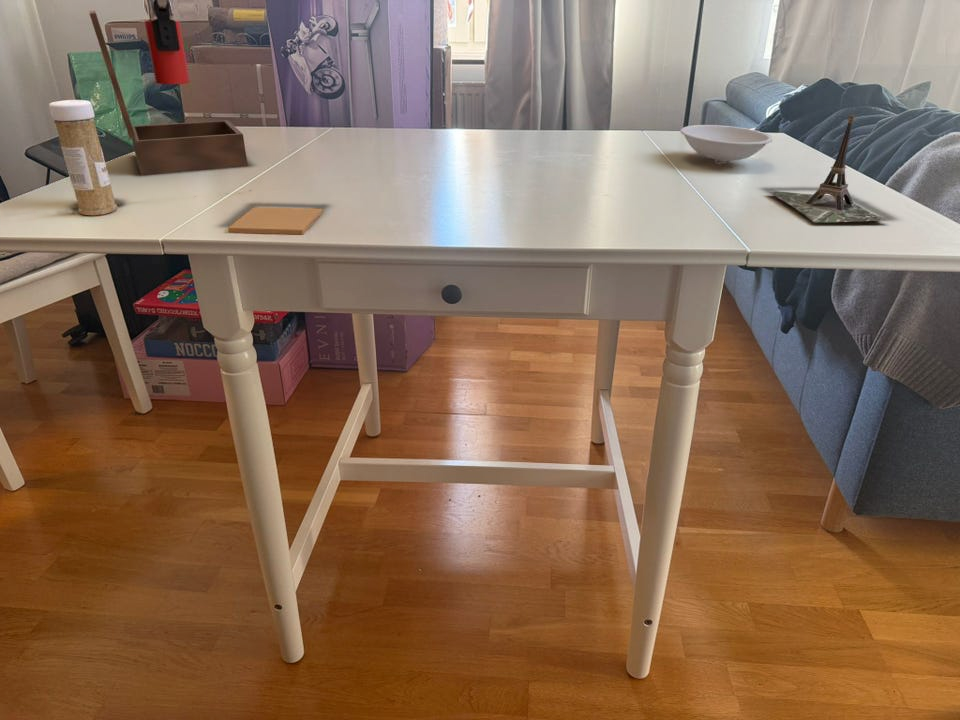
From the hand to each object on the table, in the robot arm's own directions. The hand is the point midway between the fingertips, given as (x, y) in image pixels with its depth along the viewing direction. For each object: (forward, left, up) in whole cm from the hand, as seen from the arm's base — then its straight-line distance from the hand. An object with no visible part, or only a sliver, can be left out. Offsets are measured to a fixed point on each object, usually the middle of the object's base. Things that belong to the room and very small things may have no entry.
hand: (166, 48), depth 102 cm
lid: (-8, 0, -3) cm, 8 cm away
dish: (+83, -34, -18) cm, 92 cm away
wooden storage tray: (0, 0, -18) cm, 18 cm away
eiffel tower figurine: (+75, -62, -18) cm, 99 cm away
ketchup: (0, 0, -5) cm, 5 cm away
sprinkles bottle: (-13, -22, -18) cm, 32 cm away
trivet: (+6, -37, -18) cm, 41 cm away
